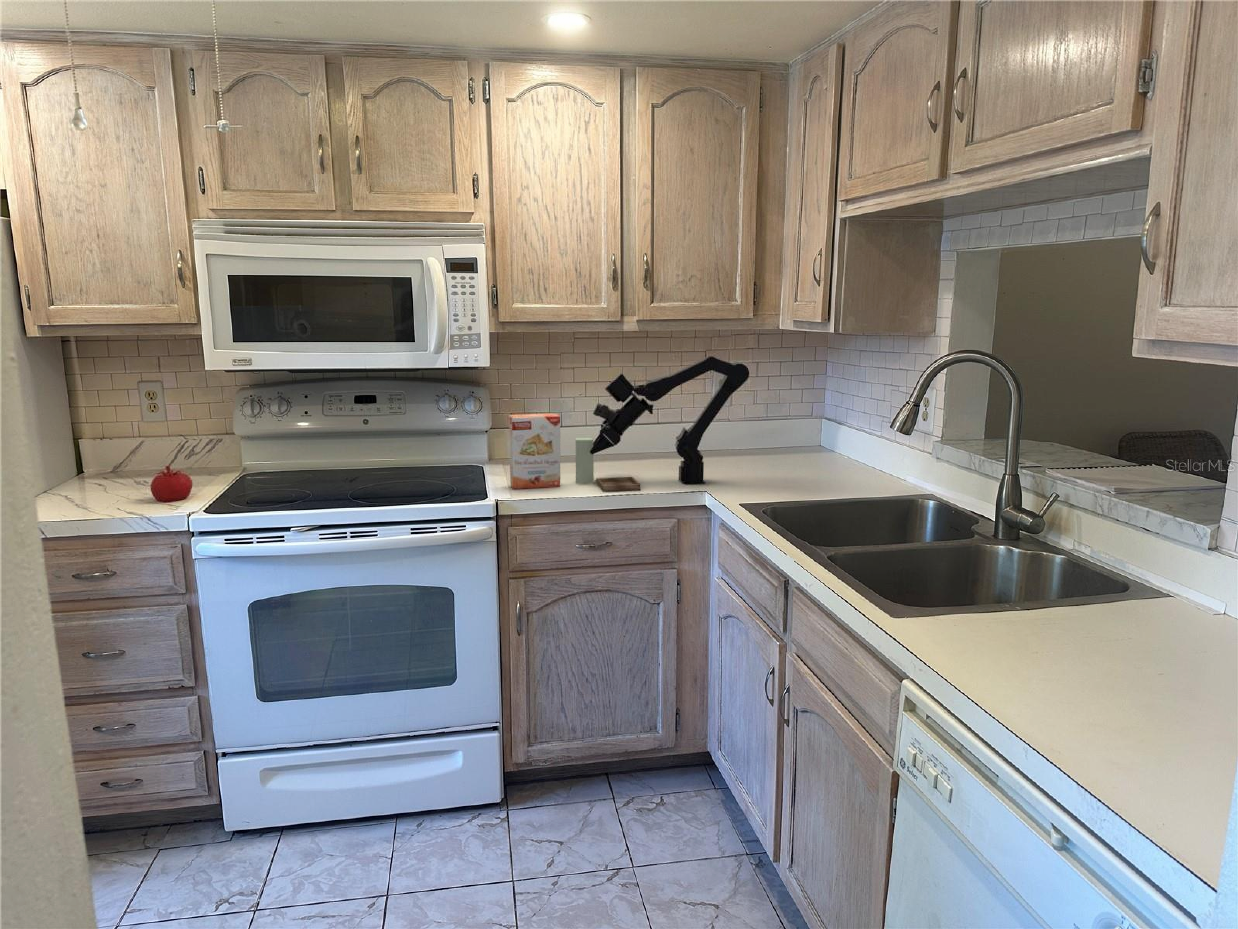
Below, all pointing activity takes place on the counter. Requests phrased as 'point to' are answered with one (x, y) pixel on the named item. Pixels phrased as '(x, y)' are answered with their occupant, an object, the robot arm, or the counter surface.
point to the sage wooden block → (584, 460)
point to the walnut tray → (617, 484)
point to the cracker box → (534, 450)
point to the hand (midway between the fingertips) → (591, 450)
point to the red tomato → (171, 486)
